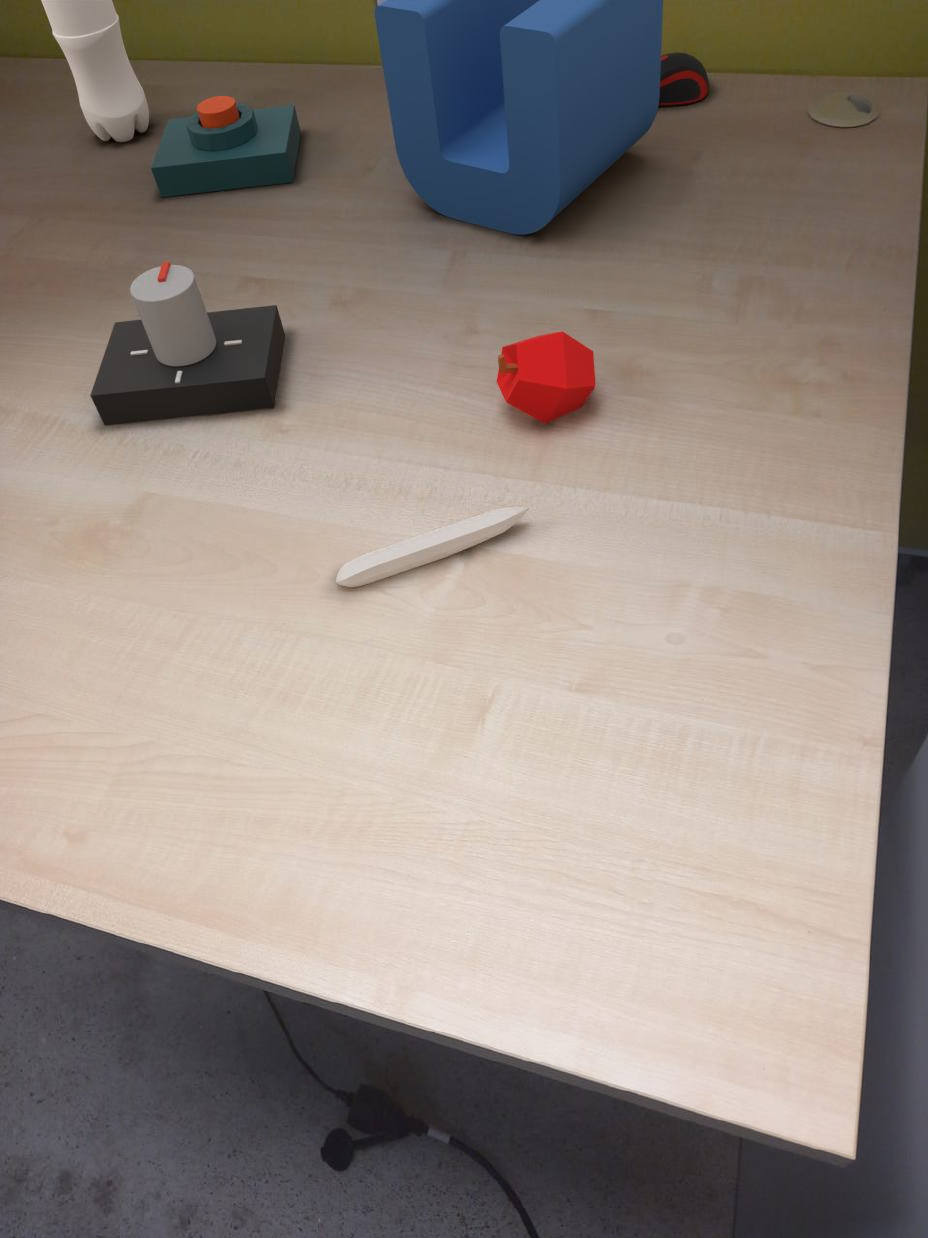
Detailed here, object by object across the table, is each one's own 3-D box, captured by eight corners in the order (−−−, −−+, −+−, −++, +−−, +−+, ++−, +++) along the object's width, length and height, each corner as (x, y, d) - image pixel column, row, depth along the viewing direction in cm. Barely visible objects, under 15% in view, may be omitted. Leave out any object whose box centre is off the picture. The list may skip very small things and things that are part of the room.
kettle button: (199, 132, 105) (194, 115, 104) (204, 114, 108) (199, 97, 107) (237, 127, 105) (232, 110, 104) (241, 110, 108) (237, 93, 106)
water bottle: (164, 131, 117) (78, -131, 98) (106, 153, 115) (7, -110, 96) (141, 112, 121) (54, -143, 102) (84, 133, 119) (-15, -123, 100)
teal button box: (161, 197, 107) (144, 150, 103) (177, 148, 114) (162, 102, 110) (292, 182, 106) (281, 133, 102) (301, 133, 113) (290, 86, 109)
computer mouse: (600, 91, 112) (600, 52, 109) (699, 75, 112) (702, 36, 109) (612, 116, 108) (612, 77, 105) (715, 100, 108) (718, 60, 105)
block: (404, 205, 100) (373, 4, 87) (505, 125, 109) (490, -69, 95) (562, 246, 93) (554, 33, 79) (657, 157, 101) (665, -50, 88)
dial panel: (104, 425, 83) (89, 393, 80) (127, 351, 89) (114, 320, 87) (274, 408, 82) (264, 375, 79) (285, 334, 88) (276, 302, 86)
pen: (534, 528, 70) (533, 511, 69) (340, 595, 68) (335, 579, 67) (525, 514, 71) (524, 496, 70) (334, 579, 69) (329, 563, 68)
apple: (598, 308, 77) (500, 297, 74) (622, 374, 73) (520, 366, 71) (564, 374, 82) (471, 366, 79) (585, 439, 79) (489, 433, 76)
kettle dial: (212, 363, 81) (187, 293, 77) (150, 369, 82) (122, 300, 77) (220, 326, 85) (197, 257, 80) (161, 333, 85) (134, 264, 80)
